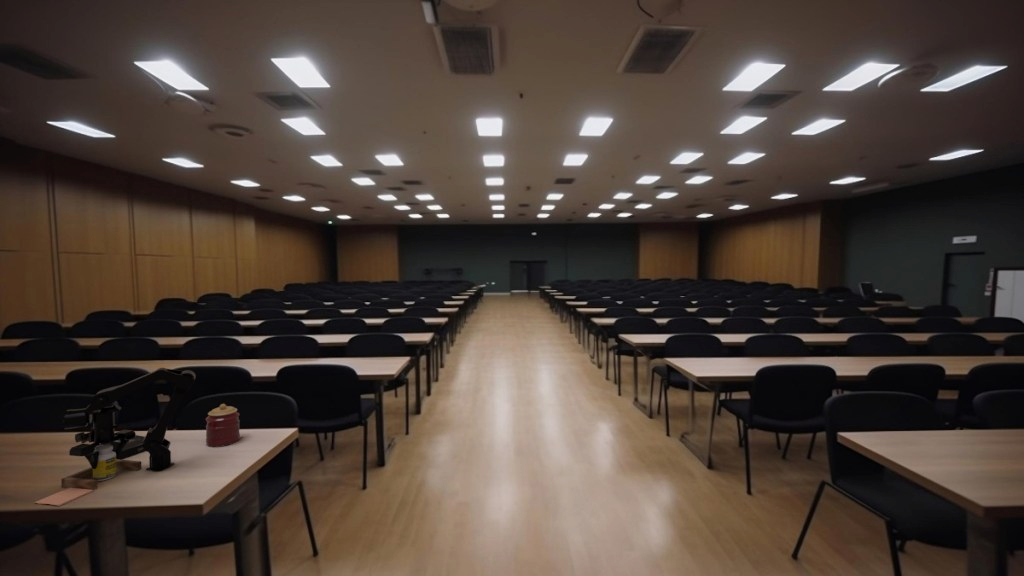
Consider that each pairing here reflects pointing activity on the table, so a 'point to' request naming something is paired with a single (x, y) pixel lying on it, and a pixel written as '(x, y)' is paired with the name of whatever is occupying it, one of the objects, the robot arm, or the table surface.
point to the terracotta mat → (64, 496)
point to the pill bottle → (105, 464)
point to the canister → (222, 426)
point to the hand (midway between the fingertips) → (104, 464)
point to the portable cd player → (131, 447)
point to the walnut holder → (80, 478)
